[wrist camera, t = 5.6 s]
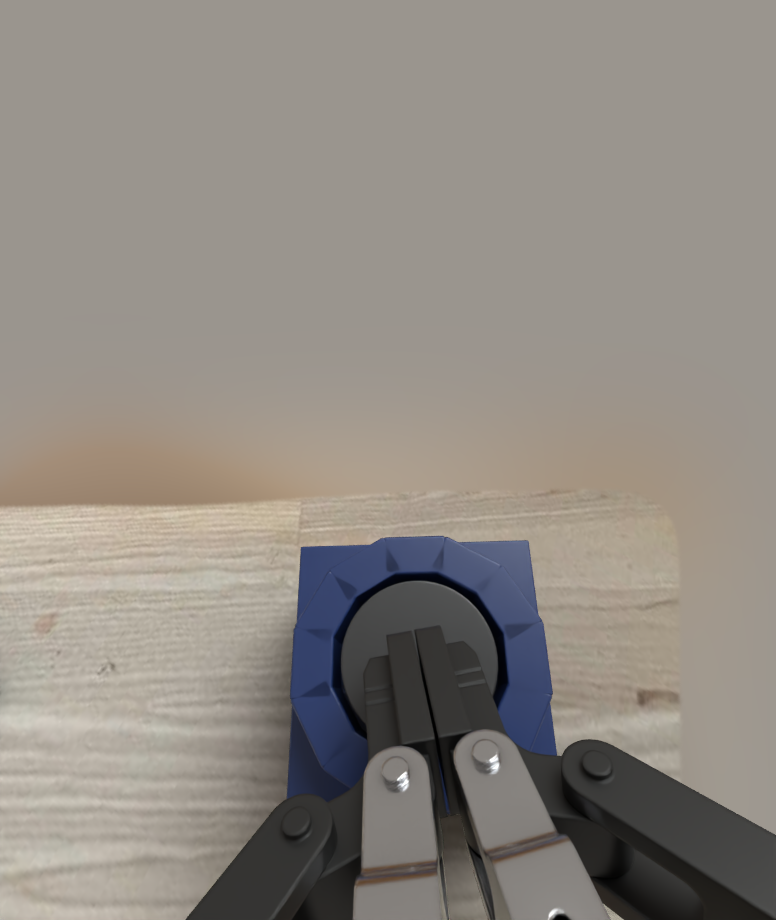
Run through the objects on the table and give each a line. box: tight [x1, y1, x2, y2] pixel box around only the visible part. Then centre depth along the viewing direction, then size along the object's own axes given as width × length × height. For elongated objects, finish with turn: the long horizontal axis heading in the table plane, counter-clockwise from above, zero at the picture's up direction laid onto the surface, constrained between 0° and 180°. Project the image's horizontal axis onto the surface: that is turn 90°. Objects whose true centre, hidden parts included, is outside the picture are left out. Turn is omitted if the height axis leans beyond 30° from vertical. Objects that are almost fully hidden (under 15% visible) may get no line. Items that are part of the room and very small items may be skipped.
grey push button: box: [341, 581, 498, 724], centre depth 16 cm, size 4×4×2 cm
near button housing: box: [287, 536, 557, 814], centre depth 19 cm, size 8×8×8 cm
